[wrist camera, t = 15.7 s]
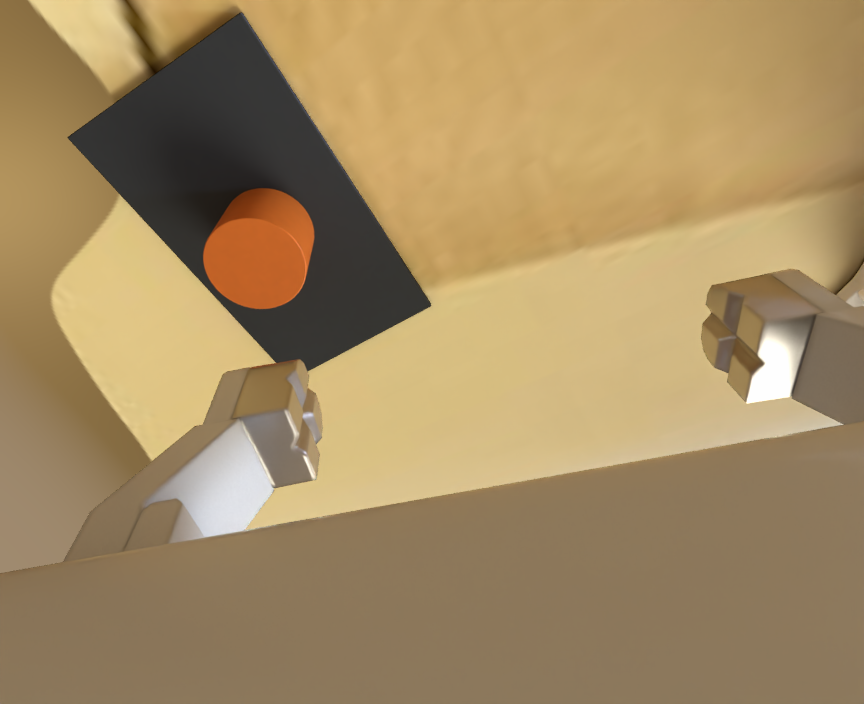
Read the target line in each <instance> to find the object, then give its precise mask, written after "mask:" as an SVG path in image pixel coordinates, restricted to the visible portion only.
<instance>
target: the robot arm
mask: <svg viewBox="0 0 864 704" xmlns="http://www.w3.org/2000/svg"><path fill="white" fill-rule="evenodd" d="M706 305H707V307H708V308H709V309H710V311H711V312H712V313H711V314H710V316H709V317H708V318H707V319H706V320H705V322H704V323H703V326H702V334H701V340H702V345H703V350H704V353H705V355H706V357H707V359H708V360H709V362H710V363H711V364H712V365H713V366H714V367H715V368H717V369H719V370H722V371H724V372H727V373H729V374H728V379H727V382H728V383H729V384H730V386H731V387H732V388H733V389H734V390H735V391H736V392H737V393H738V394H739V396H740V397H741V398H742V399H743V400H744V401H745V402H746V403H751V402H758V401H765V400H771V399H778V398H785V397H791V396H792V399H794V400H796V401H798V402H800V403H802V404H804V405H806V406H808V407H810V408H812V409H814V410H816V411H818V412H820V413H822V414H824V415H826V416H828V417H830V418H832V419H834V420H836V421H838V422H840V423H842V424H844V425H839V426H834V427H828V428H822V429H817V430H811V431H805V432H800V433H794V434H788V435H783V436H777V437H771V438H766V439H760V440H754V441H749V442H743V443H737V444H732V445H726V446H720V447H715V448H709V449H703V450H698V451H692V452H686V453H681V454H675V455H669V456H664V457H658V458H652V459H647V460H641V461H635V462H630V463H624V464H618V465H613V466H607V467H601V468H596V469H590V470H584V471H579V472H573V473H567V474H562V475H556V476H550V477H544V478H539V479H533V480H527V481H522V482H516V483H510V484H505V485H499V486H493V487H488V488H482V489H476V490H471V491H465V492H459V493H454V494H448V495H442V496H436V497H431V498H425V499H419V500H414V501H408V502H402V503H397V504H391V505H385V506H380V507H374V508H368V509H363V510H357V511H351V512H346V513H340V514H334V515H328V516H323V517H317V518H311V519H306V520H300V521H294V522H289V523H283V524H277V525H272V526H266V527H260V528H255V529H249V530H245V529H246V527H247V526H248V525H249V523H250V522H251V521H252V519H253V518H254V517H255V515H256V514H257V513H258V511H259V510H260V509H261V507H262V506H263V505H264V503H265V502H266V501H267V499H268V498H269V497H270V495H271V494H272V493H273V491H274V489H273V488H278V487H283V486H287V485H292V484H297V483H302V482H307V481H312V480H317V472H318V464H319V456H320V454H319V451H318V448H317V446H316V444H317V443H318V442H319V440H320V439H321V438H322V429H323V426H322V414H321V410H320V405H319V402H318V399H317V396H316V393H314V392H313V391H311V390H310V389H308V381H309V374H308V372H307V369H306V367H305V364H304V363H303V362H302V361H301V360H300V359H299V360H293V361H287V362H280V363H274V364H268V365H262V366H256V367H252V368H249V367H248V368H243V369H238V370H233V371H228V372H226V373H224V374H223V375H222V377H221V380H220V382H219V385H218V387H217V390H216V392H215V395H214V397H213V400H212V402H211V405H210V407H209V410H208V412H207V415H206V417H205V420H204V423H203V425H199V426H195V427H193V428H192V429H191V430H190V431H189V432H187V433H186V434H185V435H184V436H182V437H181V438H180V439H179V440H177V441H176V442H175V443H174V444H173V445H171V446H170V447H169V448H168V449H166V450H165V451H164V452H163V453H162V454H160V455H159V456H158V457H157V458H155V459H154V460H153V461H152V462H151V463H149V464H148V465H147V466H146V467H144V468H143V469H142V470H141V471H140V472H138V473H137V474H136V475H135V476H133V477H132V478H131V479H130V480H129V481H127V482H126V483H125V484H124V485H122V486H121V487H120V488H119V489H118V490H116V491H115V492H114V493H113V494H111V495H110V496H109V497H108V498H106V499H105V500H104V501H103V502H102V503H100V504H99V505H98V506H97V507H95V508H94V509H93V510H92V511H91V512H90V513H89V515H88V517H87V519H86V520H85V523H84V524H83V526H82V528H81V530H80V532H79V534H78V535H77V537H76V539H75V541H74V543H73V544H72V546H71V548H70V550H69V552H68V554H67V555H66V557H65V559H64V561H63V562H62V563H56V564H51V565H44V566H39V567H33V568H28V569H22V570H16V571H10V572H5V573H0V704H864V262H863V264H862V266H861V267H860V269H859V271H858V272H857V274H856V275H855V276H854V278H853V279H852V280H851V281H850V282H849V283H848V284H847V285H846V286H845V287H844V288H843V289H841V290H840V291H839V292H838V293H837V294H836V295H835V294H833V293H832V292H830V291H829V290H827V289H826V288H824V287H823V286H821V285H820V284H818V283H817V282H815V281H814V280H812V279H811V278H809V277H808V276H806V275H805V274H803V273H802V272H800V271H799V270H794V269H787V270H782V271H777V272H773V273H768V274H764V275H760V276H755V277H750V278H745V279H741V280H736V281H731V282H726V283H721V284H716V285H712V286H711V288H710V290H709V292H708V294H707V300H706Z"/></svg>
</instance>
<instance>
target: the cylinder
mask: <svg viewBox="0 0 864 704" xmlns="http://www.w3.org/2000/svg"><path fill="white" fill-rule="evenodd" d="M313 243H314V228H313V224H312V221H311V218H310V216H309V214H308V213H307V211H306V210H305V209H304V207H303V206H302V205H301V204H300V203H299V202H298V201H297V200H295V199H294V198H293V197H291V196H290V195H288V194H286V193H284V192H281V191H278V190H275V189H270V188H256V189H251V190H248V191H246V192H244V193H242V194H240V195H238V196H237V197H236V198H235V199H234V200H233V201H232V202H231V203H230V205H229V206H228V208H227V209H226V211H225V212H224V214H223V215H222V217H221V218H220V220H219V222H218V223H217V225H216V226H215V228H214V229H213V231H212V232H211V234H210V236H209V237H208V239H207V241H206V243H205V247H204V251H203V262H204V267H205V271H206V273H207V276H208V278H209V279H210V281H211V283H212V284H213V285H214V287H215V288H216V289H217V290H218V291H219V292H220V293H221V294H222V295H224V296H225V297H226V298H228V299H229V300H231V301H233V302H235V303H237V304H239V305H242V306H245V307H249V308H255V309H269V308H274V307H278V306H281V305H283V304H285V303H287V302H289V301H290V300H292V299H293V298H294V297H295V296H296V295H297V294H298V293H299V291H300V290H301V288H302V287H303V284H304V282H305V278H306V274H307V270H308V265H309V261H310V256H311V252H312V248H313Z"/></svg>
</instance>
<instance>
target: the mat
mask: <svg viewBox="0 0 864 704" xmlns="http://www.w3.org/2000/svg"><path fill="white" fill-rule="evenodd" d="M68 139H69V140H70V141H71V142H72V143H73V144H74V145H75V146H76V147H77V149H78V150H79V151H80V152H81V153H82V154H83V155H84V156H85V157H86V158H87V159H88V160H89V161H90V163H91V164H92V165H93V166H94V167H95V168H96V169H97V170H98V171H99V172H100V173H101V174H102V175H103V177H104V178H105V179H106V180H107V181H108V182H109V183H110V184H111V185H112V186H113V187H114V188H115V189H116V191H117V192H118V193H119V194H120V195H121V196H122V197H123V198H124V199H125V200H126V201H127V202H128V203H129V205H130V206H131V207H132V208H133V209H134V210H135V211H136V212H137V213H138V214H139V215H140V216H141V217H142V219H143V220H144V221H145V222H146V223H147V224H148V225H149V226H150V227H151V228H152V229H153V230H154V231H155V233H156V234H157V235H158V236H159V237H160V238H161V239H162V240H163V241H164V242H165V243H166V244H167V246H168V247H169V248H170V249H171V250H172V251H173V252H174V253H175V254H176V255H177V256H178V257H179V258H180V260H181V261H182V262H183V263H184V264H185V265H186V266H187V267H188V268H189V269H190V270H191V271H192V272H193V274H194V275H195V276H196V277H197V278H198V279H199V280H200V281H201V282H202V283H203V284H204V285H205V286H206V288H207V289H208V290H209V291H210V292H211V293H212V294H213V295H214V296H215V297H216V298H217V299H218V300H219V302H220V303H221V304H222V305H223V306H224V307H225V308H226V309H227V310H228V311H229V312H230V313H231V314H232V316H233V317H234V318H235V319H236V320H237V321H238V322H239V323H240V324H241V325H242V326H243V327H244V328H245V330H246V331H247V332H248V333H249V334H250V335H251V336H252V337H253V338H254V339H255V340H256V341H257V342H258V344H259V345H260V346H261V347H262V348H263V349H264V350H265V351H266V352H267V353H268V354H269V355H270V356H271V358H272V359H273V360H274V361H275V362H276V363H280V362H287V361H293V360H299V359H300V360H301V361H302V362H303V363H304V364H305V367H306V369H307V371H309V370H311V369H313V368H315V367H317V366H319V365H321V364H323V363H324V362H326V361H328V360H330V359H332V358H334V357H336V356H338V355H340V354H341V353H343V352H345V351H347V350H349V349H351V348H353V347H355V346H357V345H358V344H360V343H362V342H364V341H366V340H368V339H370V338H372V337H374V336H375V335H377V334H379V333H381V332H383V331H385V330H387V329H389V328H391V327H393V326H394V325H396V324H398V323H400V322H402V321H404V320H406V319H408V318H410V317H411V316H413V315H415V314H417V313H419V312H421V311H423V310H425V309H427V308H428V307H430V306H431V303H430V301H429V300H428V298H427V297H426V295H425V294H424V292H423V291H422V289H421V288H420V286H419V285H418V283H417V281H416V280H415V278H414V277H413V275H412V274H411V272H410V271H409V269H408V268H407V266H406V264H405V263H404V261H403V260H402V258H401V257H400V255H399V254H398V252H397V251H396V249H395V248H394V246H393V244H392V243H391V241H390V240H389V238H388V237H387V235H386V234H385V232H384V231H383V229H382V227H381V226H380V224H379V223H378V221H377V220H376V218H375V217H374V215H373V214H372V212H371V211H370V209H369V207H368V206H367V204H366V203H365V201H364V200H363V198H362V197H361V195H360V194H359V192H358V190H357V189H356V187H355V186H354V184H353V183H352V181H351V180H350V178H349V177H348V175H347V173H346V172H345V170H344V169H343V167H342V166H341V164H340V163H339V161H338V160H337V158H336V157H335V155H334V153H333V152H332V150H331V149H330V147H329V146H328V144H327V143H326V141H325V140H324V138H323V136H322V135H321V133H320V132H319V130H318V129H317V127H316V126H315V124H314V123H313V121H312V120H311V118H310V116H309V115H308V113H307V112H306V110H305V109H304V107H303V106H302V104H301V103H300V101H299V99H298V98H297V96H296V95H295V93H294V92H293V90H292V89H291V87H290V86H289V84H288V83H287V81H286V79H285V78H284V76H283V75H282V73H281V72H280V70H279V69H278V67H277V66H276V64H275V62H274V61H273V59H272V58H271V56H270V55H269V53H268V52H267V50H266V49H265V47H264V46H263V44H262V42H261V41H260V39H259V38H258V36H257V35H256V33H255V32H254V30H253V29H252V27H251V25H250V24H249V22H248V21H247V19H246V18H245V16H244V15H243V13H239V14H238V15H236V16H235V17H234V18H232V19H231V20H229V21H228V22H227V23H225V24H224V25H222V26H221V27H220V28H218V29H217V30H216V31H214V32H213V33H211V34H210V35H209V36H207V37H206V38H204V39H203V40H202V41H200V42H199V43H198V44H196V45H195V46H193V47H192V48H191V49H189V50H188V51H186V52H185V53H184V54H182V55H181V56H180V57H178V58H177V59H175V60H174V61H173V62H171V63H170V64H168V65H167V66H166V67H164V68H163V69H161V70H160V71H159V72H157V73H156V74H155V75H153V76H152V77H150V78H149V79H148V80H146V81H145V82H143V83H142V84H141V85H139V86H138V87H137V88H135V89H134V90H132V91H131V92H130V93H128V94H127V95H125V96H124V97H123V98H121V99H120V100H119V101H117V102H116V103H114V104H113V105H112V106H110V107H109V108H108V109H106V110H105V111H103V112H102V113H100V114H99V115H98V116H96V117H95V118H94V119H92V120H91V121H89V122H88V123H87V124H85V125H84V126H82V127H81V128H80V129H78V130H77V131H76V132H74V133H73V134H71V135H70V136H69V137H68ZM256 188H270V189H275V190H278V191H281V192H284V193H286V194H288V195H290V196H291V197H293V198H294V199H295V200H297V201H298V202H299V203H300V204H301V205H302V206H303V207H304V209H305V210H306V211H307V213H308V214H309V216H310V218H311V221H312V224H313V228H314V243H313V248H312V252H311V256H310V261H309V265H308V270H307V274H306V278H305V282H304V284H303V287H302V288H301V290H300V291H299V293H298V294H297V295H296V296H295V297H294V298H293V299H292V300H290V301H289V302H287V303H285V304H283V305H281V306H278V307H274V308H269V309H255V308H249V307H245V306H242V305H239V304H237V303H235V302H233V301H231V300H229V299H228V298H226V297H225V296H224V295H222V294H221V293H220V292H219V291H218V290H217V289H216V288H215V287H214V285H213V284H212V283H211V281H210V279H209V278H208V276H207V273H206V271H205V267H204V262H203V251H204V247H205V243H206V241H207V239H208V237H209V236H210V234H211V232H212V231H213V229H214V228H215V226H216V225H217V223H218V222H219V220H220V218H221V217H222V215H223V214H224V212H225V211H226V209H227V208H228V206H229V205H230V203H231V202H232V201H233V200H234V199H235V198H236V197H237V196H238V195H240V194H242V193H244V192H246V191H248V190H251V189H256Z"/></svg>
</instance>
